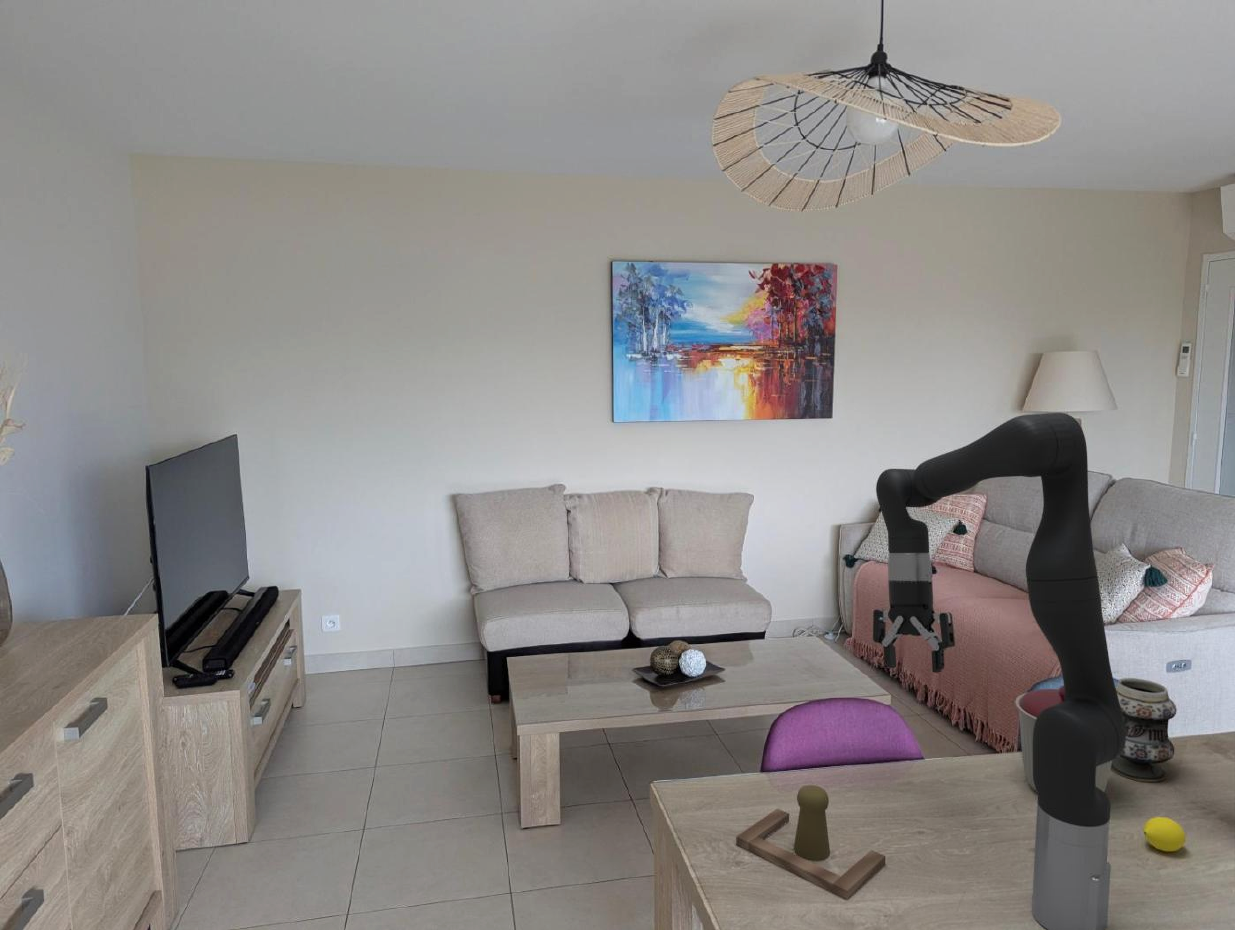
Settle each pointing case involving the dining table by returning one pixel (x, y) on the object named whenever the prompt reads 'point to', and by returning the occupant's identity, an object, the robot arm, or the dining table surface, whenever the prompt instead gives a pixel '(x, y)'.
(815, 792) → the cork
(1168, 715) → the apothecary jar
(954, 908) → the dining table surface
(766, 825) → the walnut cradle
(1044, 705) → the canister
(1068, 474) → the robot arm
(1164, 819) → the lemon
